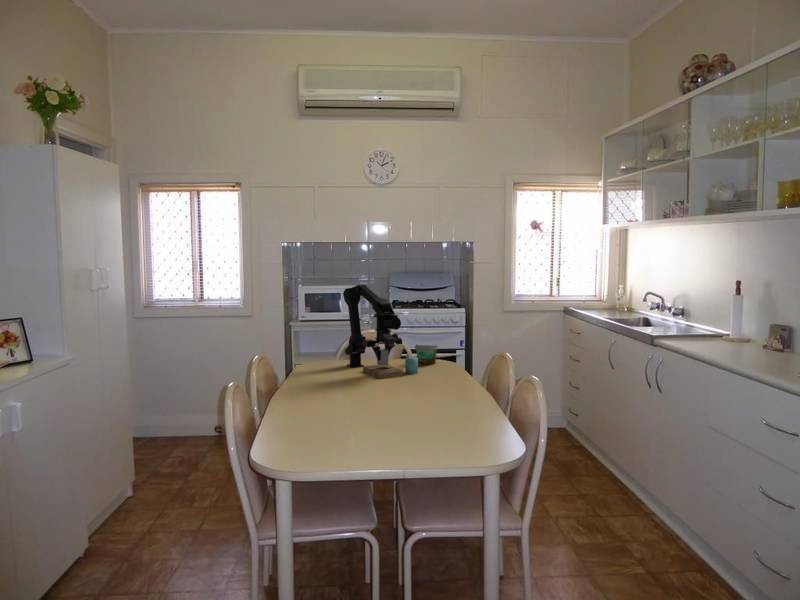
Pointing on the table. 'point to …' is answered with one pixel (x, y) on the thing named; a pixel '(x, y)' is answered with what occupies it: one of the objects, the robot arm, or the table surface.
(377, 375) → the bore block
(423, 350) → the food container
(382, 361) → the square bit
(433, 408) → the table surface
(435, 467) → the table surface
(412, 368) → the round bit
